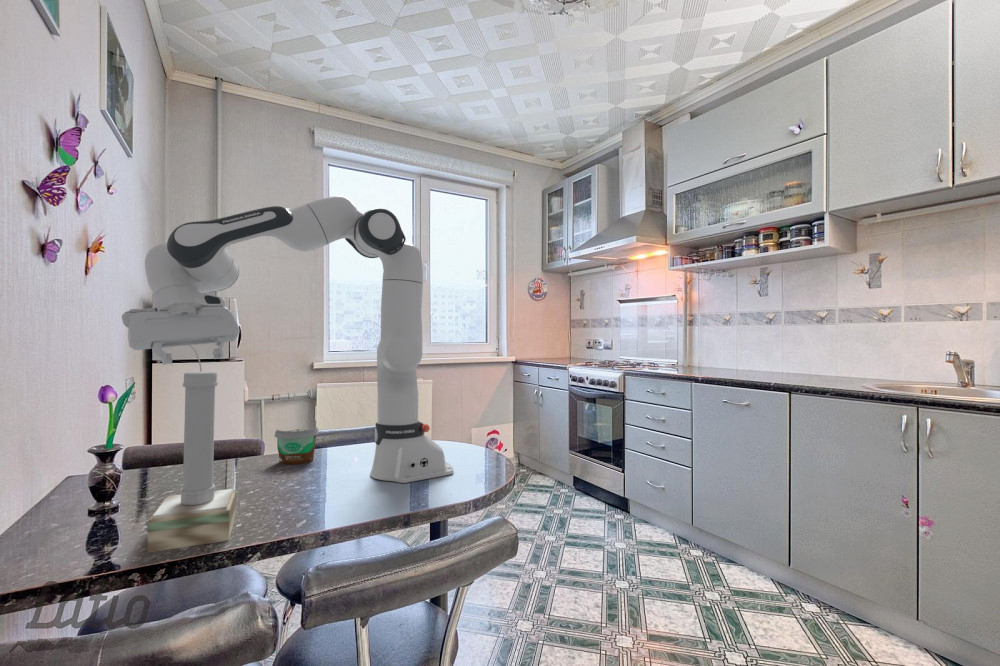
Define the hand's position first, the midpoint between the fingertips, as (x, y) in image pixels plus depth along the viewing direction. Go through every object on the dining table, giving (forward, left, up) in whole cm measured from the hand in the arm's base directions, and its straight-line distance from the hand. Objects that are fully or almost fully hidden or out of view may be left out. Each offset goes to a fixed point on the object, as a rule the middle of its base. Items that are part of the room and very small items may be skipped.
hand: (194, 360), depth 98 cm
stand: (-3, +14, -32) cm, 35 cm away
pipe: (-3, +14, -26) cm, 30 cm away
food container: (-21, -32, -32) cm, 50 cm away
